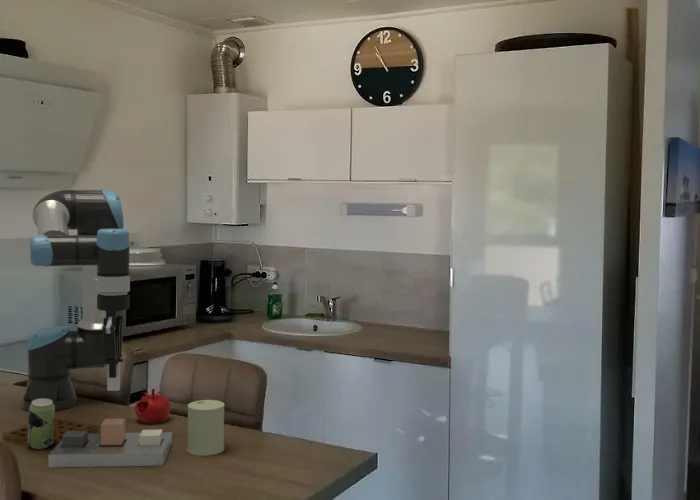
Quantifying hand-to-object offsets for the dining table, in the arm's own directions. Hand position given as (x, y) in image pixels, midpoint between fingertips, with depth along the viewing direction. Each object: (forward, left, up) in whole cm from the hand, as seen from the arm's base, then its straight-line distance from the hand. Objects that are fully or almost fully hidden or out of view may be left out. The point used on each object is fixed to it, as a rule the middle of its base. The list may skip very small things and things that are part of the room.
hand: (113, 389), depth 185 cm
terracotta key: (0, 0, -13) cm, 13 cm away
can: (-3, +22, -16) cm, 28 cm away
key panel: (0, 0, -16) cm, 16 cm away
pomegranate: (-29, +5, -16) cm, 34 cm away
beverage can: (-7, -19, -16) cm, 26 cm away
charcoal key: (0, -9, -16) cm, 18 cm away
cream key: (0, +9, -16) cm, 18 cm away
